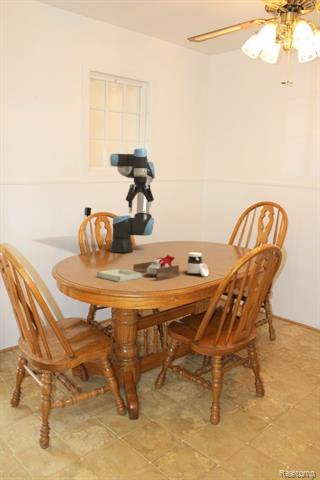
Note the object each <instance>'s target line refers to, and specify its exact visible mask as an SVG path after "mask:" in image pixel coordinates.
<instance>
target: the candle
mask: <svg viewBox="0 0 320 480" xmlns="http://www.w3.org/2000/svg"><path fill="white" fill-rule="evenodd" d="M174 260H175V256H172V255H170V254H167V255H166V256H164V257H158V258H156V259H154V260H152V262H153V263H151V265H150V266H149V267H148V268H147V270H146V272H147V273H146V274H150V275H153V276H155V275H156V269H158V268H164V267H170V266H173V265H172V262H173V261H174Z"/></svg>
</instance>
